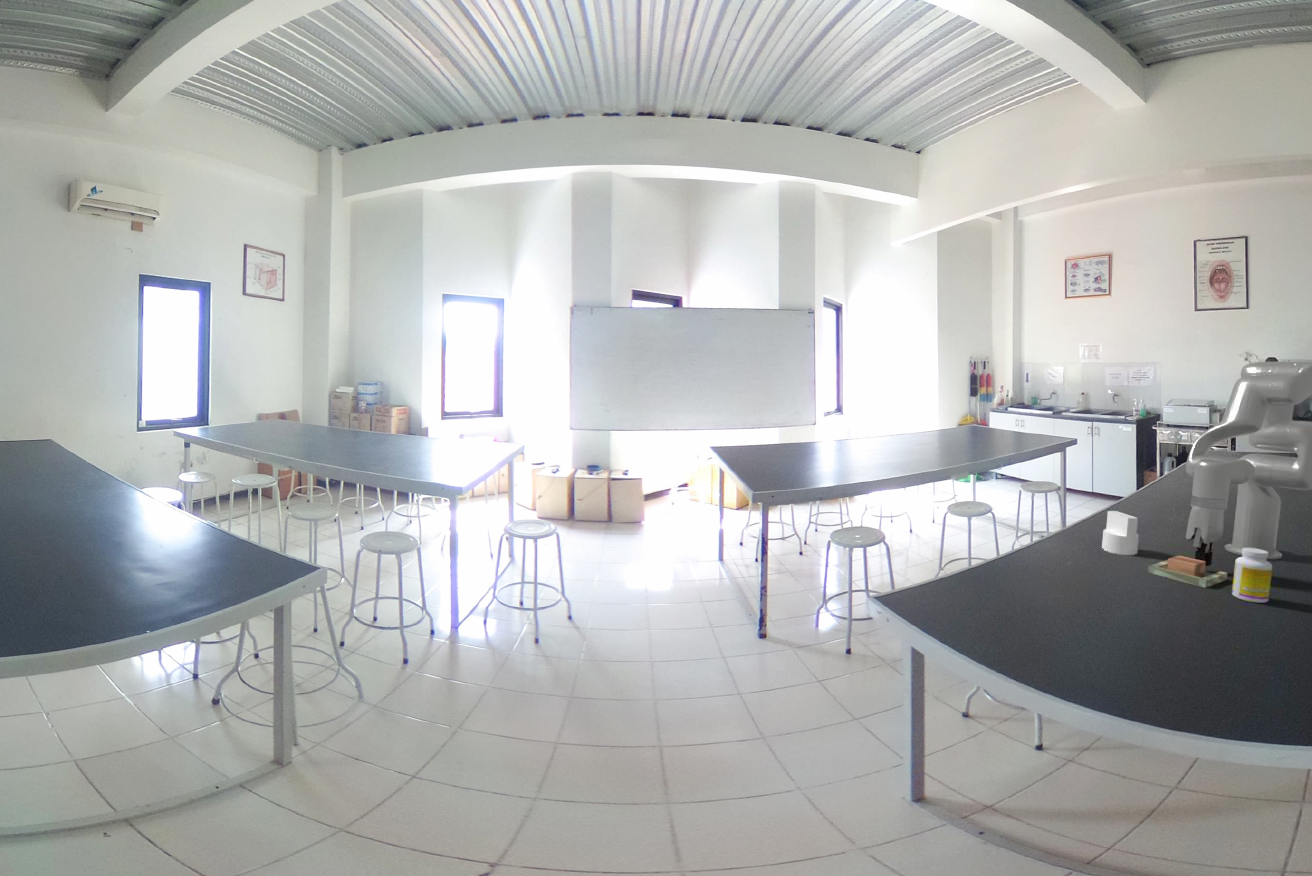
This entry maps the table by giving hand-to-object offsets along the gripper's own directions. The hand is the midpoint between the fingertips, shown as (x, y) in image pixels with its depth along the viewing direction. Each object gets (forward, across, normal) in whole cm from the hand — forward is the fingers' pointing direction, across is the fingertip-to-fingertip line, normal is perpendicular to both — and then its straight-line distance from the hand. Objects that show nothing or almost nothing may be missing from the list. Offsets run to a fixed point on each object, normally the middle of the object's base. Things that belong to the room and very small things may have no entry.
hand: (1202, 564), depth 168 cm
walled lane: (+2, +9, 0) cm, 9 cm away
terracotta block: (+2, +10, 0) cm, 10 cm away
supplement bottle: (+2, +14, +15) cm, 21 cm away
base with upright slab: (+2, 0, -21) cm, 21 cm away
